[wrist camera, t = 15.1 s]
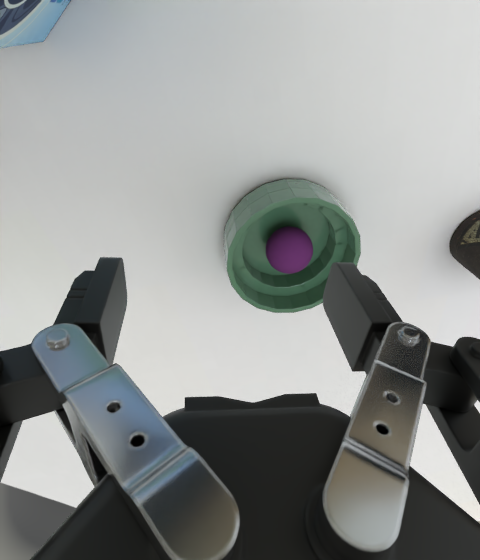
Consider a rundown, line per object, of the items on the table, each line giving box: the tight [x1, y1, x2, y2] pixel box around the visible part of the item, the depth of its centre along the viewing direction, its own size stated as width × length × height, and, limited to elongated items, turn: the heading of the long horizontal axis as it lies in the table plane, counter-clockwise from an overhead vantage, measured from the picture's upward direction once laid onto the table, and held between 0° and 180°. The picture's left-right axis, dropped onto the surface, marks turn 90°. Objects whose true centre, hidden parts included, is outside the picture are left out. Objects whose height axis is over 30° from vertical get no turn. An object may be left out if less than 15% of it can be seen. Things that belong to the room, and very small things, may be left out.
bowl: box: [224, 179, 361, 313], centre depth 43 cm, size 15×15×6 cm
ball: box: [266, 226, 313, 274], centre depth 43 cm, size 6×6×6 cm
